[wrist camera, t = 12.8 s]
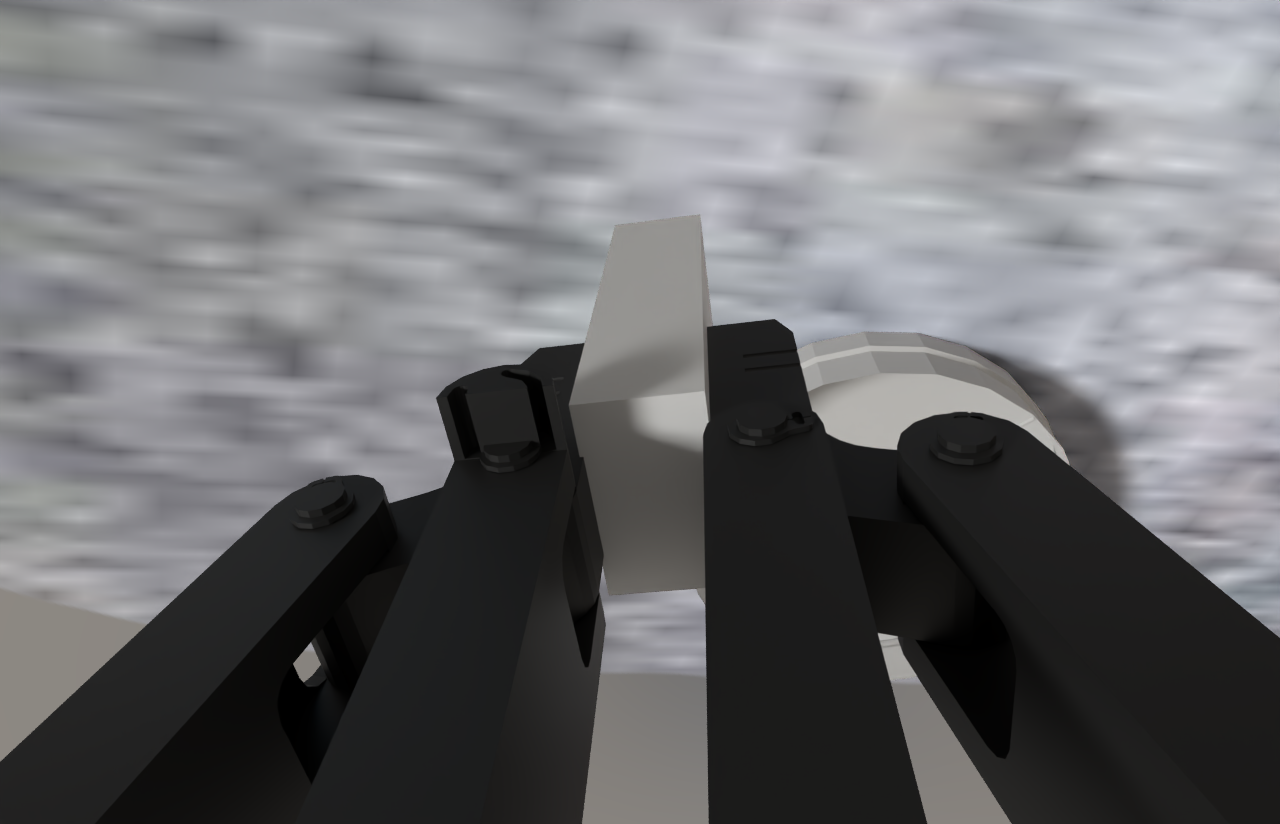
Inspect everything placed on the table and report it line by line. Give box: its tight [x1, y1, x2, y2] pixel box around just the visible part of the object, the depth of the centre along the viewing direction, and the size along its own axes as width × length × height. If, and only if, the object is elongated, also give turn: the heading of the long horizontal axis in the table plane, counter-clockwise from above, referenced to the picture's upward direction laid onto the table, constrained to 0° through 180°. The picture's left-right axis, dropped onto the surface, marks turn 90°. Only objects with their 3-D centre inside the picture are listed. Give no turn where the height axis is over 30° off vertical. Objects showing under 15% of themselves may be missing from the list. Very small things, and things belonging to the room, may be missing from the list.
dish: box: [697, 332, 1070, 681], centre depth 51 cm, size 22×22×5 cm
